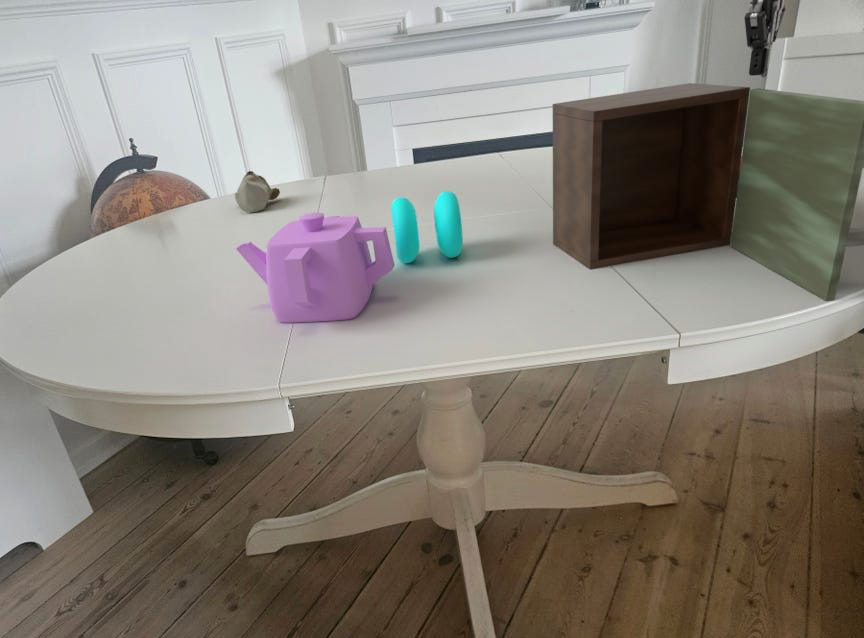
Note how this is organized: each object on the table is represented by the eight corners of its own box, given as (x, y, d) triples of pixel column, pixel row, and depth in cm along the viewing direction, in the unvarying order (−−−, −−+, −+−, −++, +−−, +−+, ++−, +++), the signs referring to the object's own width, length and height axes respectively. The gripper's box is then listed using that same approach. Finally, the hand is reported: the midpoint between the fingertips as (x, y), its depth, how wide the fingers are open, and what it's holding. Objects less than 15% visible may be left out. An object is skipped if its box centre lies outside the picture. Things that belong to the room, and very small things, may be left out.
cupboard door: (784, 240, 86) (810, 81, 77) (894, 292, 68) (945, 93, 59) (730, 246, 87) (750, 89, 78) (825, 301, 68) (866, 103, 59)
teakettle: (305, 339, 77) (285, 241, 71) (245, 307, 90) (225, 221, 84) (412, 296, 85) (402, 206, 80) (344, 272, 98) (331, 192, 92)
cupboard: (730, 245, 87) (750, 87, 78) (589, 270, 86) (593, 111, 77) (677, 223, 99) (689, 83, 90) (552, 244, 97) (552, 103, 88)
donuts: (397, 253, 103) (389, 192, 99) (457, 245, 103) (453, 183, 98) (398, 273, 94) (391, 207, 90) (465, 265, 94) (460, 198, 89)
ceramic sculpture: (220, 178, 138) (233, 170, 152) (229, 217, 142) (240, 206, 155) (268, 171, 138) (277, 164, 152) (276, 211, 142) (283, 200, 155)
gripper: (791, -56, 88) (771, 79, 96) (814, -57, 96) (794, 67, 104) (732, -46, 93) (718, 82, 101) (759, -48, 101) (744, 70, 109)
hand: (757, 74), depth 102 cm, fingers closed
